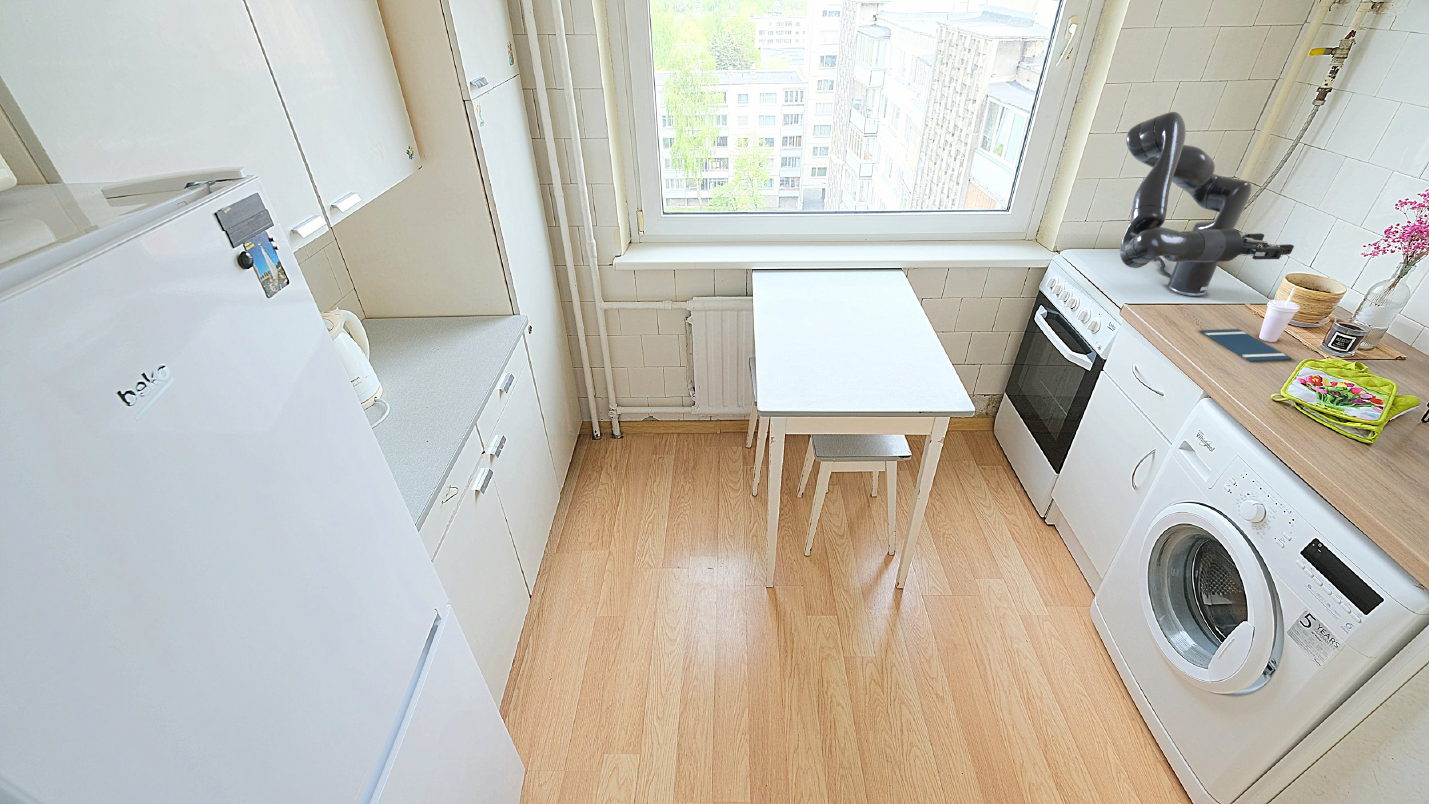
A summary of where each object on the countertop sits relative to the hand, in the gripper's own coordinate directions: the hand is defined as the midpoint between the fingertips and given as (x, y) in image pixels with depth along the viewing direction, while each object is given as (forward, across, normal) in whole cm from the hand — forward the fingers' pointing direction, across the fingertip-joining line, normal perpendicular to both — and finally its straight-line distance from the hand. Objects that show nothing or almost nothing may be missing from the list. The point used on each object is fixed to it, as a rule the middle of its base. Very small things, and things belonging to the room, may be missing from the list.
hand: (1276, 243), depth 151 cm
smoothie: (+11, +1, +26) cm, 28 cm away
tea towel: (+2, -2, +26) cm, 26 cm away
